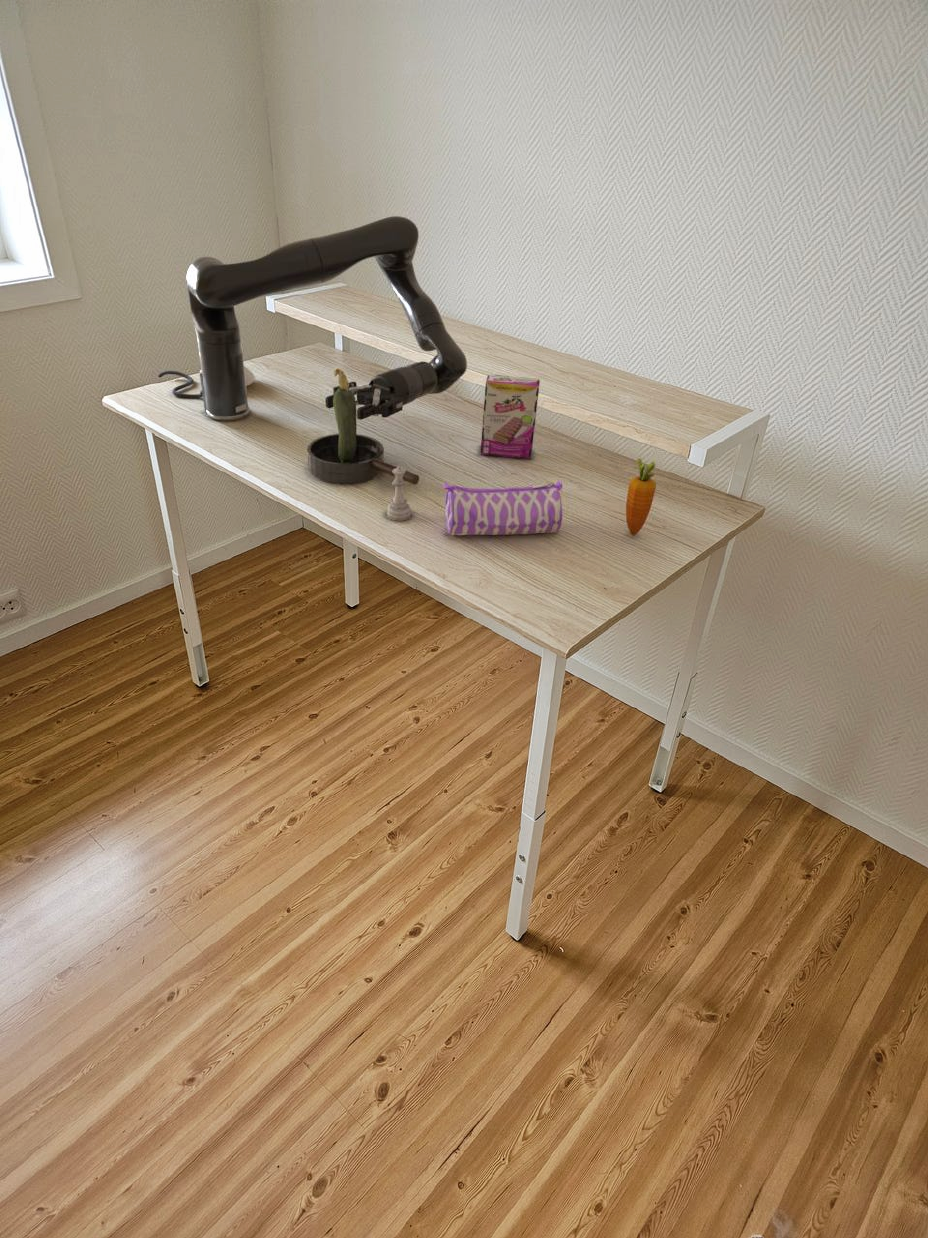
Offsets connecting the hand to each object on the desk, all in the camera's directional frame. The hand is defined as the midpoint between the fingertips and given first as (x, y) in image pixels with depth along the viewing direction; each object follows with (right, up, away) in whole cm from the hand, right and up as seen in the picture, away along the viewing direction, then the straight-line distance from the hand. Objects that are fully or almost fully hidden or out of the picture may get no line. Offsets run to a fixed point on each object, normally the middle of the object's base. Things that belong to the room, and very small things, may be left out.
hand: (342, 408), depth 162 cm
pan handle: (+10, -13, 0) cm, 17 cm away
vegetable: (0, -10, +8) cm, 13 cm away
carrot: (+55, -26, -9) cm, 61 cm away
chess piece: (+12, -22, -7) cm, 26 cm away
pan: (0, -10, +8) cm, 13 cm away
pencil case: (+31, -25, -10) cm, 41 cm away
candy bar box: (+33, -5, +18) cm, 38 cm away
